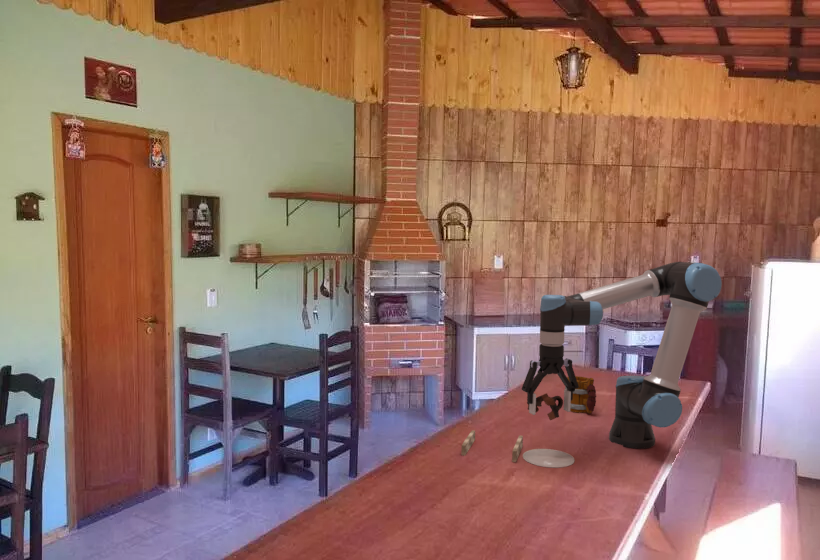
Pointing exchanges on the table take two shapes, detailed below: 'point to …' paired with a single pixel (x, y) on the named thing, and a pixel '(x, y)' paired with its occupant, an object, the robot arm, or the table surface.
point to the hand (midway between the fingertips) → (549, 412)
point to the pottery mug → (549, 404)
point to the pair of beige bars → (471, 439)
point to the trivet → (548, 458)
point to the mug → (583, 396)
